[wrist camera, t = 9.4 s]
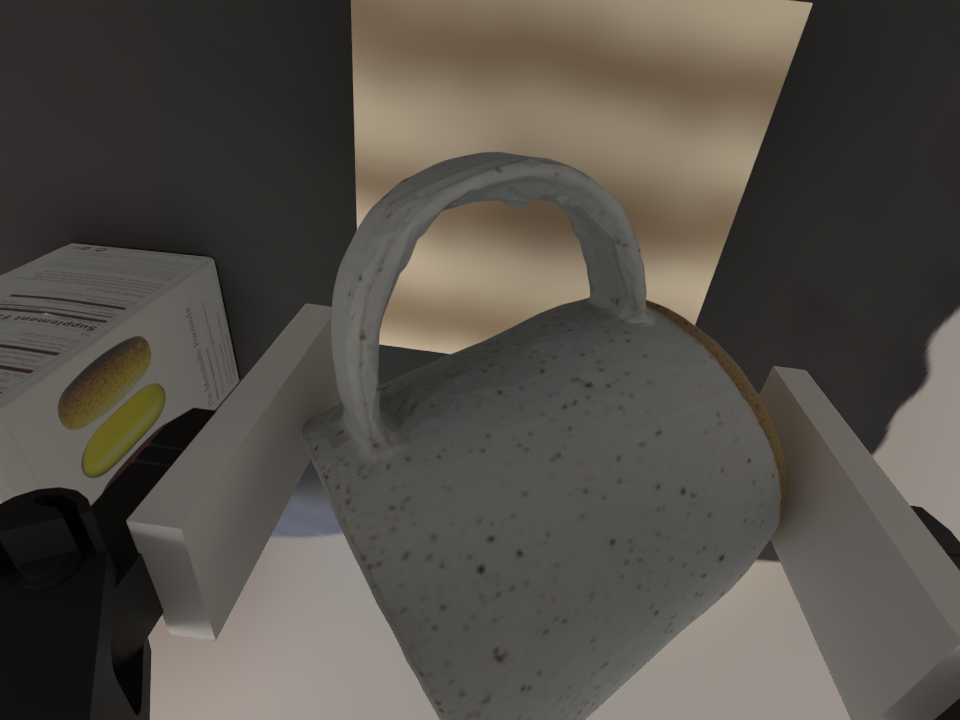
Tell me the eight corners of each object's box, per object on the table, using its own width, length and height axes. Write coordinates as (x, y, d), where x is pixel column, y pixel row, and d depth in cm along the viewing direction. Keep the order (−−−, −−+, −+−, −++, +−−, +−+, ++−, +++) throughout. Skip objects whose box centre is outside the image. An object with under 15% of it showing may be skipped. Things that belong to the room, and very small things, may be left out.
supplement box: (243, 383, 37) (60, 608, 23) (115, 369, 37) (-143, 582, 23) (215, 252, 32) (-45, 438, 18) (66, 238, 32) (-305, 408, 18)
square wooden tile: (370, -44, 23) (349, -52, 21) (782, 4, 23) (812, 3, 20) (373, 317, 33) (360, 341, 31) (662, 355, 33) (673, 384, 30)
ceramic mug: (578, 388, 18) (756, 596, 14) (354, 510, 16) (484, 800, 12) (631, 58, 10) (1133, 341, 5) (163, 227, 7) (387, 915, 3)
